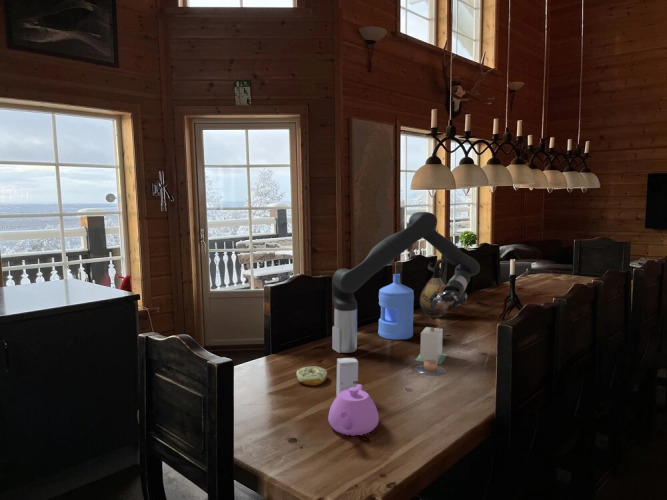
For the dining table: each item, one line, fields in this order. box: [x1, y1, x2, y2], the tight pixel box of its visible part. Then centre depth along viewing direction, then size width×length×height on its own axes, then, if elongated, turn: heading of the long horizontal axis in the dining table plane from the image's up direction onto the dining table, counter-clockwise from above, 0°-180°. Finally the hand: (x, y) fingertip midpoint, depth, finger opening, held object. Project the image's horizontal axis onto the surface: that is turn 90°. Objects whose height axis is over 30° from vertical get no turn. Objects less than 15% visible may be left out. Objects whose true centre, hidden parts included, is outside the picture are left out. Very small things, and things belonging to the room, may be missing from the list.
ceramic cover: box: [419, 326, 444, 362], centre depth 189 cm, size 9×7×12 cm
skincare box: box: [335, 357, 359, 397], centre depth 152 cm, size 6×4×12 cm
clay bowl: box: [423, 360, 438, 372], centre depth 176 cm, size 5×5×3 cm
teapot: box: [327, 383, 380, 437], centre depth 133 cm, size 14×20×11 cm
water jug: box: [377, 273, 415, 341], centre depth 219 cm, size 16×16×28 cm
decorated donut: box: [296, 365, 328, 386], centre depth 167 cm, size 10×11×4 cm
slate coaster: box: [414, 364, 447, 377], centre depth 176 cm, size 11×11×1 cm
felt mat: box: [414, 353, 447, 365], centre depth 190 cm, size 12×10×1 cm
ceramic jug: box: [419, 258, 451, 318], centre depth 257 cm, size 17×15×30 cm
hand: (442, 307), depth 194 cm, fingers open, 8 cm apart
